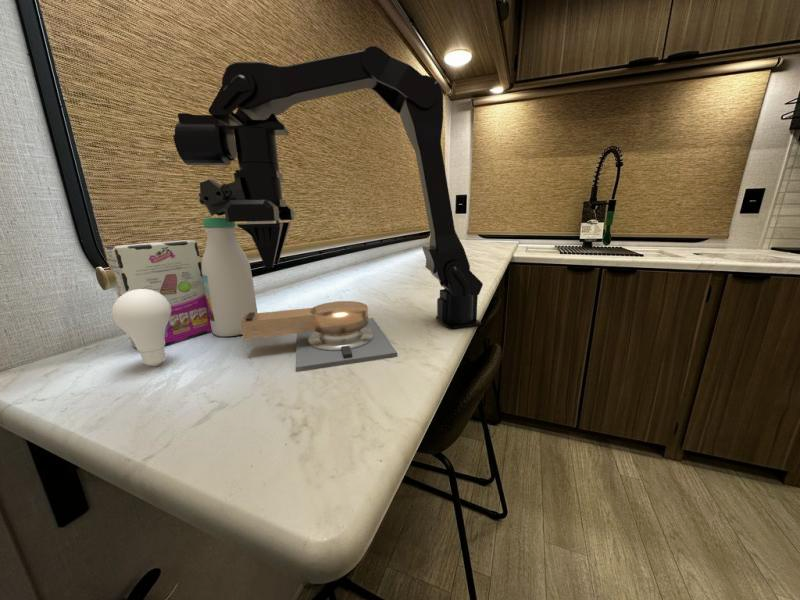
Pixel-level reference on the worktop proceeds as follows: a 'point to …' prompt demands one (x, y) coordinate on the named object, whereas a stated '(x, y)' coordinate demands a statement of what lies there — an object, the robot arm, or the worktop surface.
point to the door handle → (307, 320)
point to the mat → (343, 351)
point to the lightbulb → (144, 322)
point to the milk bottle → (226, 278)
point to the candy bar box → (166, 282)
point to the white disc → (340, 340)
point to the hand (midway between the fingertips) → (272, 266)
